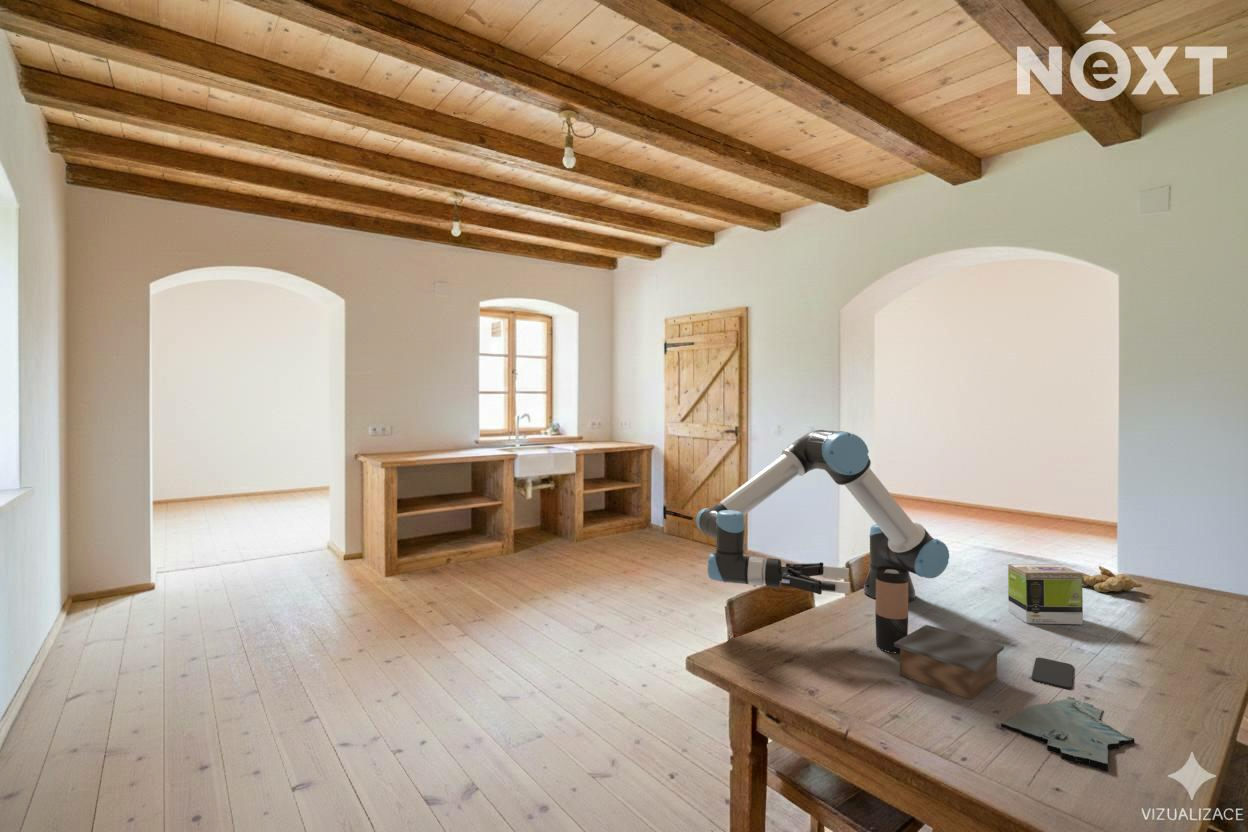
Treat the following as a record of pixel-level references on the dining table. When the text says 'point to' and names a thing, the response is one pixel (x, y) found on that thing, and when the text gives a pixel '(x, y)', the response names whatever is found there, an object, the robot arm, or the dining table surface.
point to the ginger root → (1109, 581)
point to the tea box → (1045, 593)
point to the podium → (948, 660)
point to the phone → (1053, 673)
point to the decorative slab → (1070, 731)
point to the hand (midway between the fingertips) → (849, 580)
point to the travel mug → (891, 606)
